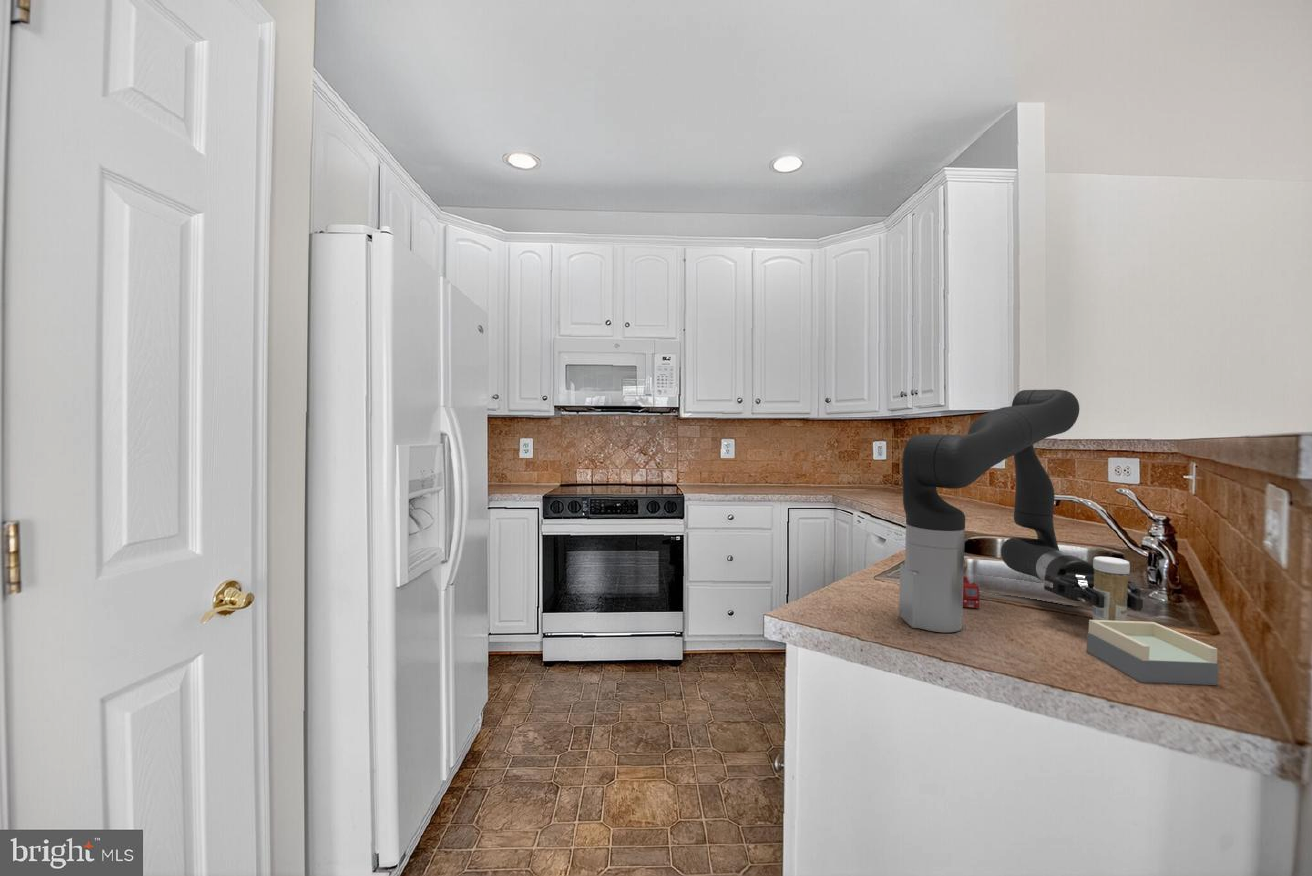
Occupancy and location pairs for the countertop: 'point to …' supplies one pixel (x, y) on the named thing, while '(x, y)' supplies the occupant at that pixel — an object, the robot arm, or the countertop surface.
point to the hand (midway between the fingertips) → (1120, 603)
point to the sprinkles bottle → (1111, 588)
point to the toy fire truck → (970, 592)
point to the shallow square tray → (1152, 652)
